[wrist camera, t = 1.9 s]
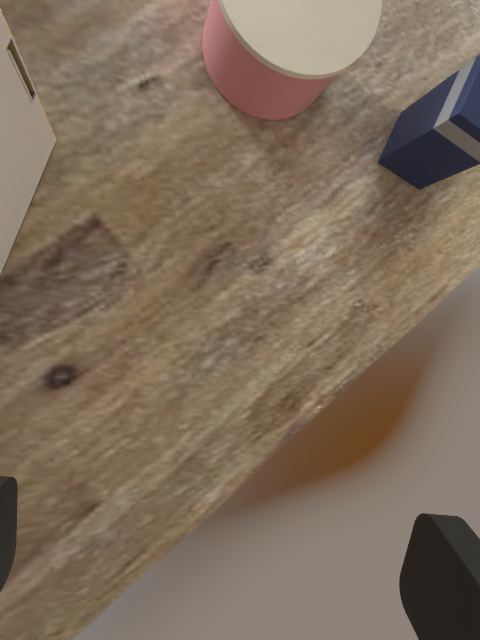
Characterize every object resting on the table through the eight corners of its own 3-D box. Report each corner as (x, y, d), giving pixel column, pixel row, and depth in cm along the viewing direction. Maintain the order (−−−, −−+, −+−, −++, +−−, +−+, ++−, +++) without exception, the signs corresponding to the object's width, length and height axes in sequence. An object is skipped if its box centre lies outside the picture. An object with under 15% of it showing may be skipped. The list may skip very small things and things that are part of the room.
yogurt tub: (186, -22, 35) (203, -118, 27) (321, -16, 37) (370, -101, 30) (208, 128, 35) (231, 76, 27) (339, 122, 38) (392, 74, 30)
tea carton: (377, 162, 39) (458, 113, 30) (400, 111, 40) (487, 47, 30) (419, 190, 40) (510, 151, 31) (441, 140, 41) (538, 88, 31)
